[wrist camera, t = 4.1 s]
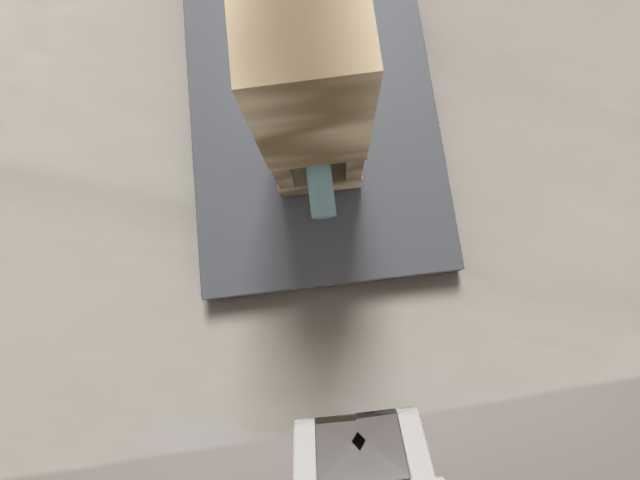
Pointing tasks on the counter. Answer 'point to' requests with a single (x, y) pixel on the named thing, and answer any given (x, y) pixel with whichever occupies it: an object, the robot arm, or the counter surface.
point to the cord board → (319, 178)
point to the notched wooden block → (306, 84)
